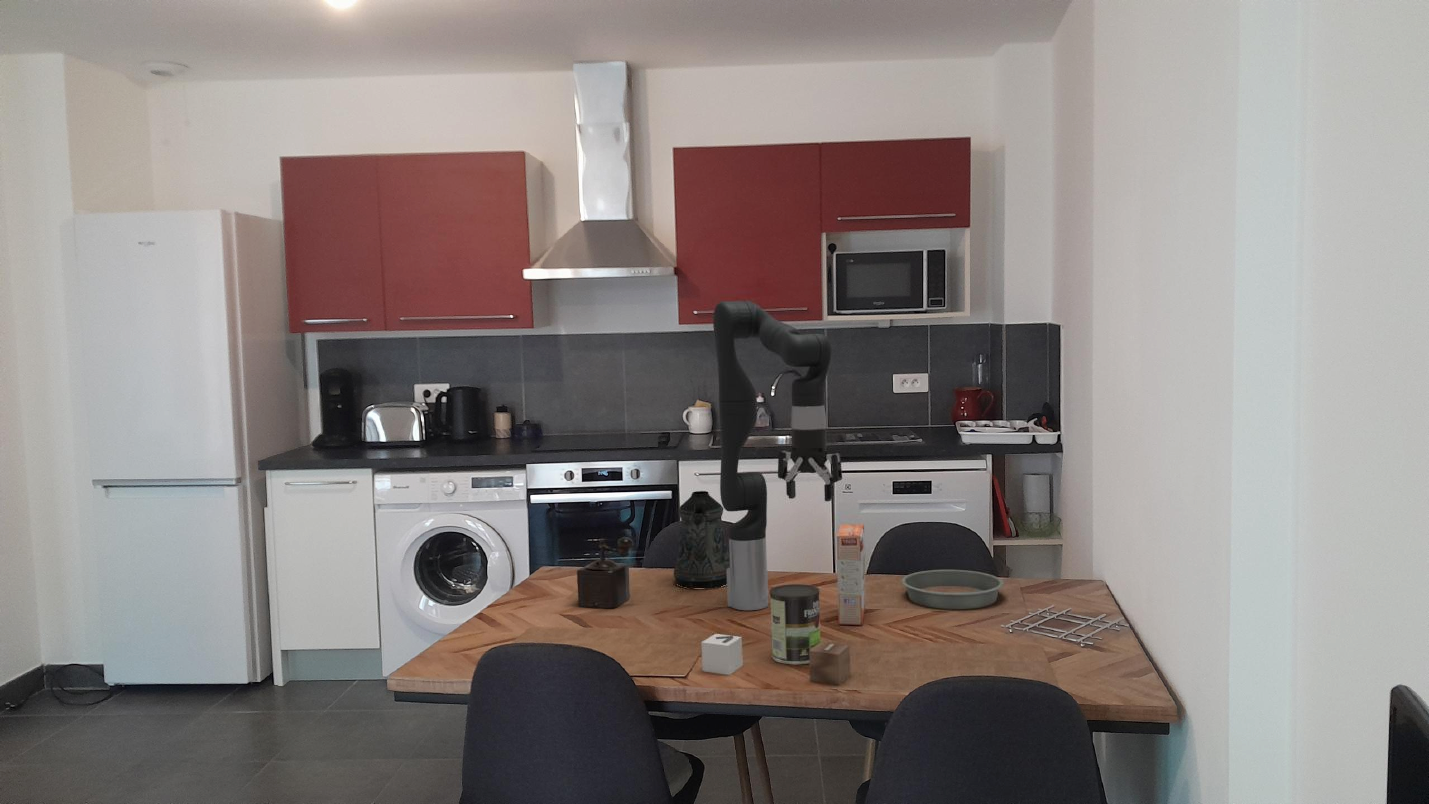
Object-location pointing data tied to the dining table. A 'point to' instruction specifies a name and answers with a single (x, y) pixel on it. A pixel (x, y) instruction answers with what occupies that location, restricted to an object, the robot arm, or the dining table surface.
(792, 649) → the coffee can
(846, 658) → the walnut block
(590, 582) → the manual coffee grinder
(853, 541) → the cracker box
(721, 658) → the offwhite block
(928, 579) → the cake pan
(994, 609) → the dining table surface
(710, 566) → the dark ornate jug
